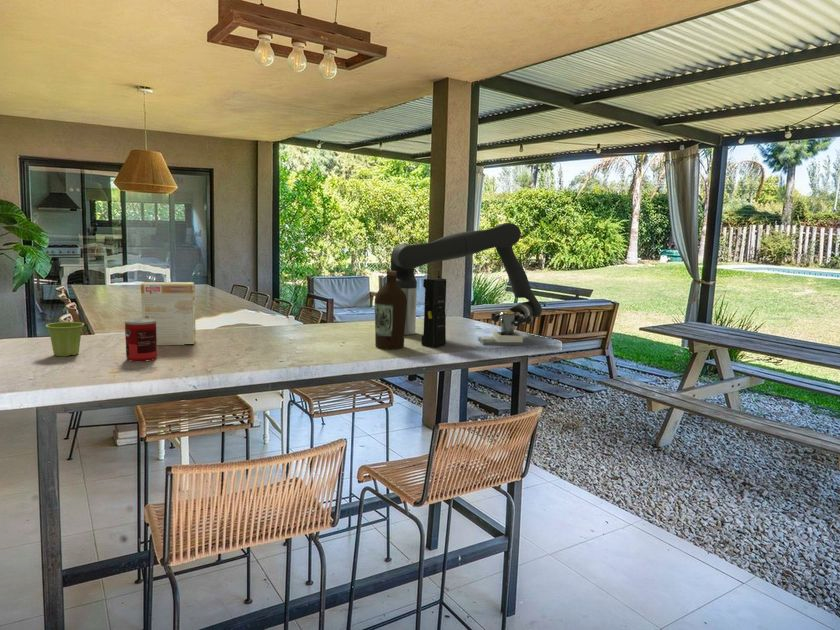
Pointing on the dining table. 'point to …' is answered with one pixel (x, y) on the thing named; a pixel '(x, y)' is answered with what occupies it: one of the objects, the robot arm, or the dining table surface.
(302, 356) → the dining table surface
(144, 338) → the canned food
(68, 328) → the plant pot
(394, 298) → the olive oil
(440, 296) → the portable radio
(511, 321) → the cell
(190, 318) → the coffeecake box
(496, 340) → the tester board
